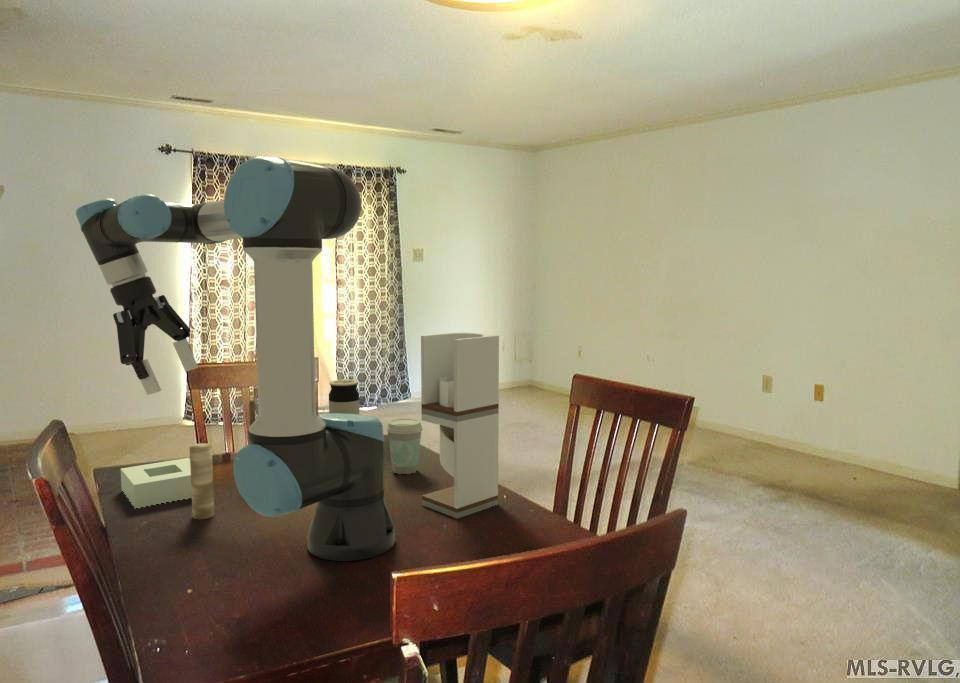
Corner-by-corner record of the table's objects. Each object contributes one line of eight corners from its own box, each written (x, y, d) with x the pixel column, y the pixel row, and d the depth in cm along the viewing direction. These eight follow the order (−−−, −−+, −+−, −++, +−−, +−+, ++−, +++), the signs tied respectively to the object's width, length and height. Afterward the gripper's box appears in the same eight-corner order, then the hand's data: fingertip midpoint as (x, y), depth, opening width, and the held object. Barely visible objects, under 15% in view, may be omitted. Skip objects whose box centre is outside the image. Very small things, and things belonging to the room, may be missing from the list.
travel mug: (365, 448, 187) (363, 382, 185) (337, 453, 182) (335, 385, 180) (352, 442, 193) (351, 378, 191) (325, 446, 188) (323, 381, 186)
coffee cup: (379, 472, 165) (378, 422, 164) (403, 464, 172) (402, 416, 171) (406, 478, 161) (406, 427, 159) (430, 469, 168) (429, 420, 166)
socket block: (206, 495, 149) (205, 472, 148) (135, 509, 140) (133, 484, 140) (189, 479, 160) (188, 457, 159) (121, 490, 151) (120, 468, 151)
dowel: (218, 514, 138) (216, 444, 136) (202, 520, 134) (199, 449, 133) (204, 510, 139) (201, 442, 138) (188, 517, 136) (184, 447, 134)
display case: (462, 492, 151) (462, 331, 147) (498, 504, 143) (498, 335, 140) (422, 505, 143) (420, 335, 139) (457, 518, 135) (457, 339, 132)
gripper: (150, 273, 147) (190, 365, 152) (68, 301, 123) (119, 408, 128) (180, 263, 146) (220, 356, 151) (103, 289, 122) (153, 398, 127)
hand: (174, 380), depth 140 cm, fingers open, 13 cm apart
